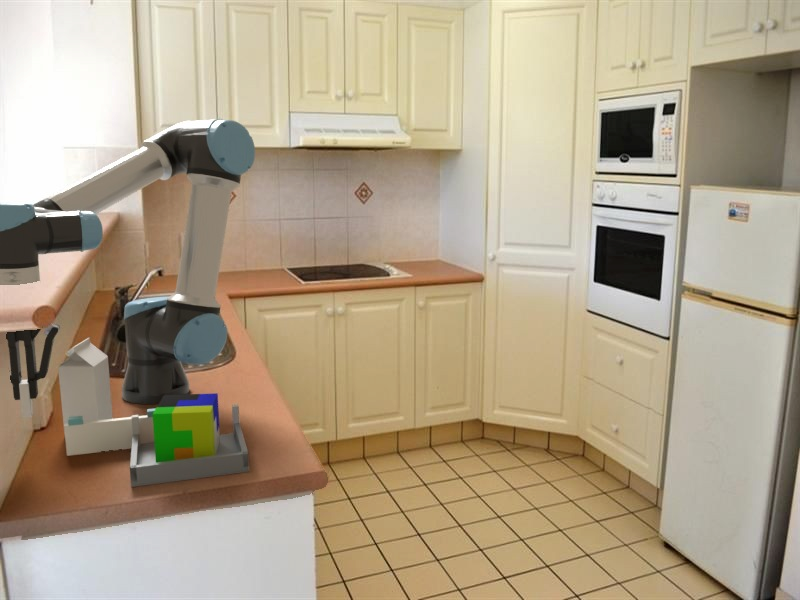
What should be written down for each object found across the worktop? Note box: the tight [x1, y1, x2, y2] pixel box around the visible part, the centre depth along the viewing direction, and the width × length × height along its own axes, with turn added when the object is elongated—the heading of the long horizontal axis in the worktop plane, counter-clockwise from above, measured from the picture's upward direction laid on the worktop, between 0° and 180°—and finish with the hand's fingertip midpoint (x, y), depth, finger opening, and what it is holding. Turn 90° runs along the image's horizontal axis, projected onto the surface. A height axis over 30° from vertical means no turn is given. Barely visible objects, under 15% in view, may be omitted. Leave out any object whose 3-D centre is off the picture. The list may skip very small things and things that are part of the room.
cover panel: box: [63, 407, 157, 457], centre depth 137 cm, size 1×18×7 cm, turn 108°
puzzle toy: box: [153, 393, 221, 463], centre depth 132 cm, size 10×10×10 cm
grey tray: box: [129, 404, 250, 488], centre depth 132 cm, size 16×20×7 cm
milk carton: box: [57, 337, 114, 435], centre depth 144 cm, size 7×7×19 cm
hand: (27, 415), depth 131 cm, fingers closed
